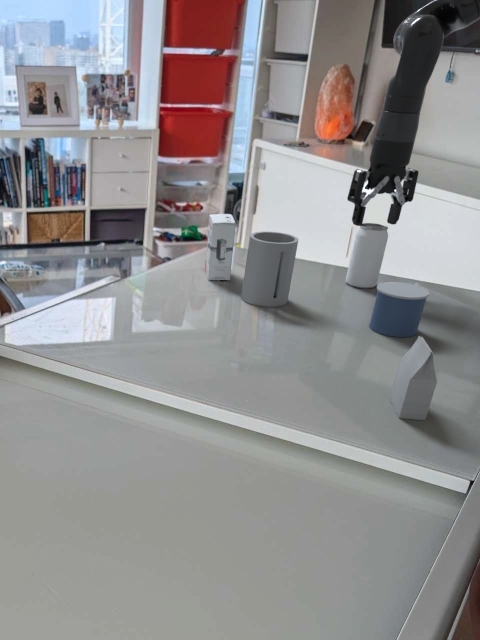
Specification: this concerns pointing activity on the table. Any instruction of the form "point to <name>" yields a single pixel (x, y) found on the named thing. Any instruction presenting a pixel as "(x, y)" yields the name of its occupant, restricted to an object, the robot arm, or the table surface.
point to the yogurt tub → (398, 309)
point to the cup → (269, 268)
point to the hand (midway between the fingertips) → (374, 224)
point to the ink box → (220, 246)
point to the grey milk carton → (414, 382)
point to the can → (367, 255)
